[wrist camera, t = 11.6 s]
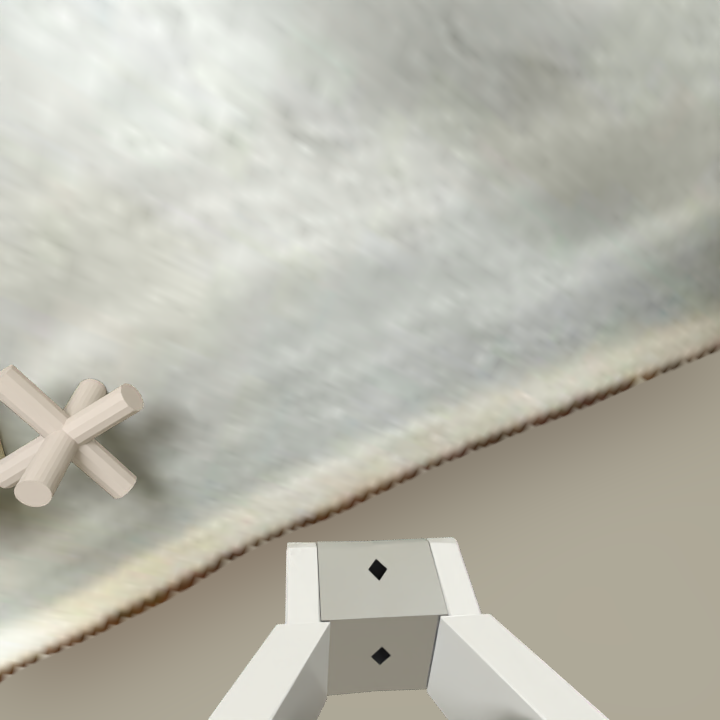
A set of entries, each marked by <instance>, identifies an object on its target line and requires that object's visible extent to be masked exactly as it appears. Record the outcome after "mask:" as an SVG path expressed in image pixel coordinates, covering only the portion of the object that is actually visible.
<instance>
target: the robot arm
mask: <svg viewBox="0 0 720 720" xmlns="http://www.w3.org/2000/svg"><path fill="white" fill-rule="evenodd" d="M286 555H287V557H286V615H285V616H286V617H285V624H277V625H276V626H275V627H274V629H273V630H272V631H271V633H270V634H269V636H268V637H267V638H266V640H265V641H264V642H263V644H262V645H261V647H260V648H259V650H258V651H257V652H256V654H255V655H254V657H253V658H252V659H251V661H250V662H249V663H248V665H247V666H246V667H245V669H244V670H243V672H242V673H241V675H240V676H239V677H238V679H237V680H236V681H235V683H234V684H233V686H232V687H231V688H230V690H229V691H228V692H227V694H226V695H225V697H224V698H223V699H222V701H221V702H220V704H219V705H218V706H217V708H216V709H215V711H214V712H213V713H212V715H211V716H210V718H209V719H208V720H317V718H318V716H319V714H320V712H321V710H322V708H323V706H324V704H325V702H326V700H327V696H328V695H339V694H350V693H360V692H371V691H389V690H415V689H416V690H417V689H427V693H428V694H429V696H430V697H431V698H432V699H433V701H434V702H435V703H436V705H437V706H438V707H439V709H440V710H441V711H442V713H443V714H444V715H445V717H446V718H447V719H448V720H609V719H608V718H607V717H606V716H605V715H604V714H603V713H601V712H600V711H599V710H598V709H597V708H596V707H595V706H594V705H592V704H591V703H590V702H589V701H588V700H587V699H586V698H585V697H583V696H582V695H581V694H580V693H579V692H578V691H577V690H576V689H574V688H573V687H572V686H571V685H570V684H569V683H568V682H567V681H565V680H564V679H563V678H562V677H561V676H560V675H559V674H558V673H556V672H555V671H554V670H553V669H552V668H551V667H550V666H549V665H547V664H546V663H545V662H544V661H543V660H542V659H541V658H540V657H538V656H537V655H536V654H535V653H534V652H533V651H532V650H531V649H529V648H528V647H527V646H526V645H525V644H524V643H523V642H521V641H520V640H519V639H518V638H517V637H516V636H515V635H514V634H513V633H511V632H510V631H509V630H508V629H507V628H506V627H505V626H504V625H502V624H501V623H500V622H499V621H498V620H497V619H496V618H494V617H493V616H492V615H491V614H482V613H481V610H480V607H479V604H478V601H477V598H476V595H475V592H474V589H473V586H472V584H471V581H470V578H469V575H468V572H467V569H466V566H465V563H464V560H463V557H462V554H461V551H460V548H459V545H458V542H457V541H456V540H455V538H453V537H447V538H426V539H424V538H421V539H399V540H378V541H377V540H376V541H360V542H359V541H349V542H348V541H345V542H317V545H316V542H301V543H300V542H299V543H297V542H294V543H288V544H287V554H286Z"/></svg>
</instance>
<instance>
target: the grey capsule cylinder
mask: <svg viewBox="0 0 720 720" xmlns="http://www.w3.org/2000/svg"><path fill="white" fill-rule="evenodd" d="M4 457H5V454H4V450H3V447H2V444H1V440H0V460H1V459H3V458H4Z"/></svg>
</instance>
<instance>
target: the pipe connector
mask: <svg viewBox="0 0 720 720" xmlns="http://www.w3.org/2000/svg"><path fill="white" fill-rule="evenodd" d="M0 401H1V402H3V403H4V404H5V405H6V406H7V407H8V408H10V409H11V410H12V411H13V412H14V413H15V414H17V415H18V416H19V417H20V418H21V419H22V420H24V421H25V422H26V423H27V424H28V425H29V426H31V427H32V428H33V429H34V430H35V431H36V432H38V433H39V434H40V436H38V437H37V438H35V439H34V440H32V441H30V442H29V443H27V444H25V445H24V446H22V447H20V448H19V449H17V450H16V451H14V452H12V453H11V454H9V455H7V456H6V457H4V458H3V459H1V460H0V487H2V488H12V487H14V486H15V485H16V487H15V488H14V494H15V496H16V498H17V499H18V500H19V501H20V502H21V503H23V504H25V505H28V506H32V507H40V506H44V505H46V504H48V503H49V502H50V500H51V499H52V497H53V495H54V493H55V491H56V489H57V487H58V485H59V484H60V482H61V480H62V478H63V476H64V474H65V472H66V470H67V468H68V466H69V465H70V463H71V462H73V463H74V464H75V465H76V466H77V467H78V468H80V469H81V470H82V471H83V472H84V473H85V474H87V475H88V476H89V477H90V478H91V479H92V480H94V481H95V482H96V483H97V484H98V485H99V486H101V487H102V488H103V489H104V490H105V491H106V492H108V493H109V494H110V495H111V496H112V497H113V498H115V499H118V498H121V497H123V496H124V495H125V494H127V493H128V492H129V491H130V490H131V489H132V488H133V486H134V485H135V483H136V481H137V477H136V476H135V475H134V474H133V473H132V472H131V471H130V470H129V469H127V468H126V467H125V466H124V465H123V464H122V463H121V462H120V461H119V460H117V459H116V458H115V457H114V456H113V455H112V454H111V453H110V452H109V451H108V450H106V449H105V448H104V447H103V446H102V445H101V444H100V443H99V442H98V441H97V440H95V439H94V438H95V437H97V436H99V435H100V434H102V433H104V432H106V431H107V430H109V429H111V428H112V427H114V426H116V425H117V424H119V423H121V422H122V421H124V420H126V419H127V418H129V417H131V416H132V415H134V414H136V413H137V412H139V411H140V410H141V409H143V403H144V402H143V399H142V397H141V394H140V393H139V392H138V390H137V389H136V388H135V387H133V386H132V385H130V384H123V385H122V386H120V387H118V388H117V389H115V390H113V391H112V392H110V393H108V394H107V395H106V388H105V386H104V385H103V384H102V383H101V382H99V381H97V380H94V379H86V380H83V381H82V382H80V383H79V385H78V387H77V388H76V390H75V392H74V393H73V395H72V396H71V398H70V400H69V401H68V403H67V404H66V406H65V408H64V409H63V410H62V409H61V408H60V407H59V406H58V405H57V404H56V403H55V402H53V401H52V400H51V399H50V398H49V397H48V396H47V395H46V394H45V393H43V392H42V391H41V390H40V389H39V388H38V387H37V386H36V385H35V384H34V383H32V382H31V381H30V380H29V379H28V378H27V377H26V376H25V375H24V374H23V373H21V372H20V371H19V370H18V369H17V368H16V367H15V366H14V365H10V366H8V367H6V368H5V369H3V370H2V371H1V372H0Z"/></svg>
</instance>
